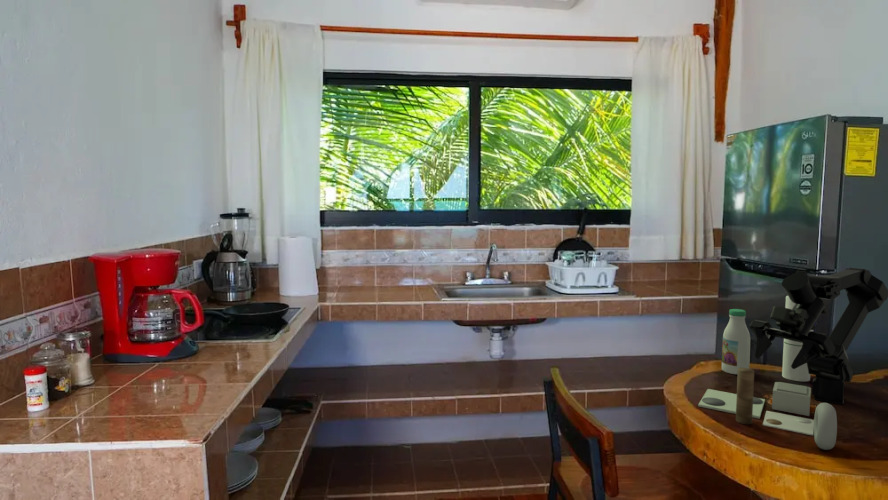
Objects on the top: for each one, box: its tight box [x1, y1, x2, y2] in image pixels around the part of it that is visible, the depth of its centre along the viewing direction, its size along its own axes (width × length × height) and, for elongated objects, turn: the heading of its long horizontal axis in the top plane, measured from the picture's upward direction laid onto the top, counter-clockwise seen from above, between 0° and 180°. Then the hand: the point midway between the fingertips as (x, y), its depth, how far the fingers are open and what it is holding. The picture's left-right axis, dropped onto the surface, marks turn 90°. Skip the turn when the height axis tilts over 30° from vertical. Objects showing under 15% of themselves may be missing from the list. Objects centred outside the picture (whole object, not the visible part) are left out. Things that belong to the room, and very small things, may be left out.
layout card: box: [762, 410, 814, 437], centre depth 127 cm, size 10×10×1 cm
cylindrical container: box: [781, 295, 814, 382], centre depth 159 cm, size 7×7×25 cm
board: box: [697, 388, 766, 420], centre depth 140 cm, size 14×14×1 cm
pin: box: [735, 368, 755, 425], centre depth 128 cm, size 4×4×13 cm
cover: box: [771, 381, 812, 417], centre depth 137 cm, size 8×8×5 cm
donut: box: [813, 402, 838, 451], centre depth 114 cm, size 10×4×10 cm, turn 149°
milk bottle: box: [721, 308, 751, 376], centre depth 165 cm, size 8×8×20 cm
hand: (773, 362), depth 130 cm, fingers open, 9 cm apart
